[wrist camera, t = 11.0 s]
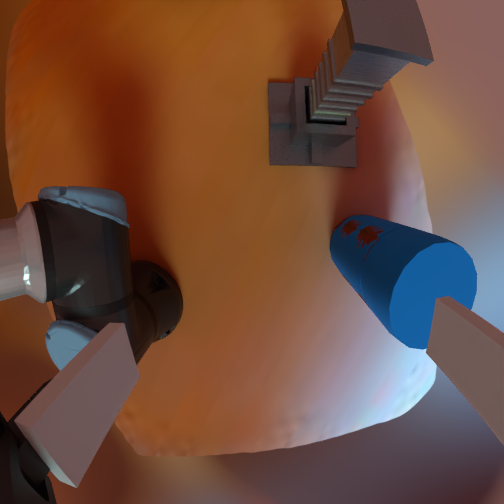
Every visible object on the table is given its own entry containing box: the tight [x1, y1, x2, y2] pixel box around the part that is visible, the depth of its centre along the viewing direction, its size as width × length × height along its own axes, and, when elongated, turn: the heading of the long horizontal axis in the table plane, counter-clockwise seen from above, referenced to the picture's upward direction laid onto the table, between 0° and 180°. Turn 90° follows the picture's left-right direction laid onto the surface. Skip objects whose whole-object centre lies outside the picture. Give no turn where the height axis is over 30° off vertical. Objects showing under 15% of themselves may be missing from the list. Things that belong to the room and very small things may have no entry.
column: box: [307, 0, 434, 124], centre depth 22 cm, size 5×5×23 cm
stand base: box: [268, 66, 359, 168], centre depth 36 cm, size 14×14×13 cm
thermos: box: [330, 215, 477, 349], centre depth 34 cm, size 11×11×25 cm
